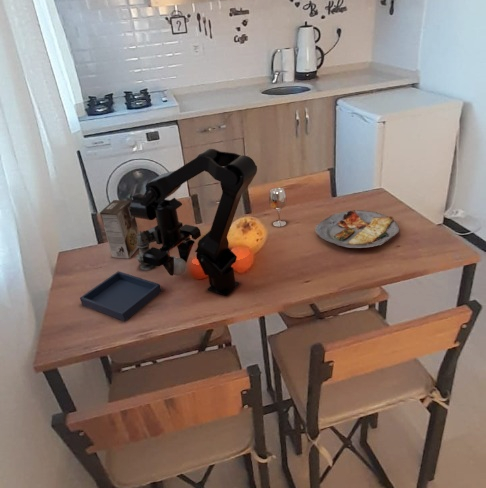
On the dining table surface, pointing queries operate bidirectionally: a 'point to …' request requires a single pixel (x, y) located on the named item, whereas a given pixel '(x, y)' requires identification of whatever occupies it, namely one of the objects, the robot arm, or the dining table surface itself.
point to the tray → (121, 295)
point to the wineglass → (278, 203)
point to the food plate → (357, 229)
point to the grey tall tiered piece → (143, 248)
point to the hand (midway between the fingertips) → (178, 270)
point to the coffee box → (120, 228)
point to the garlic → (179, 266)
